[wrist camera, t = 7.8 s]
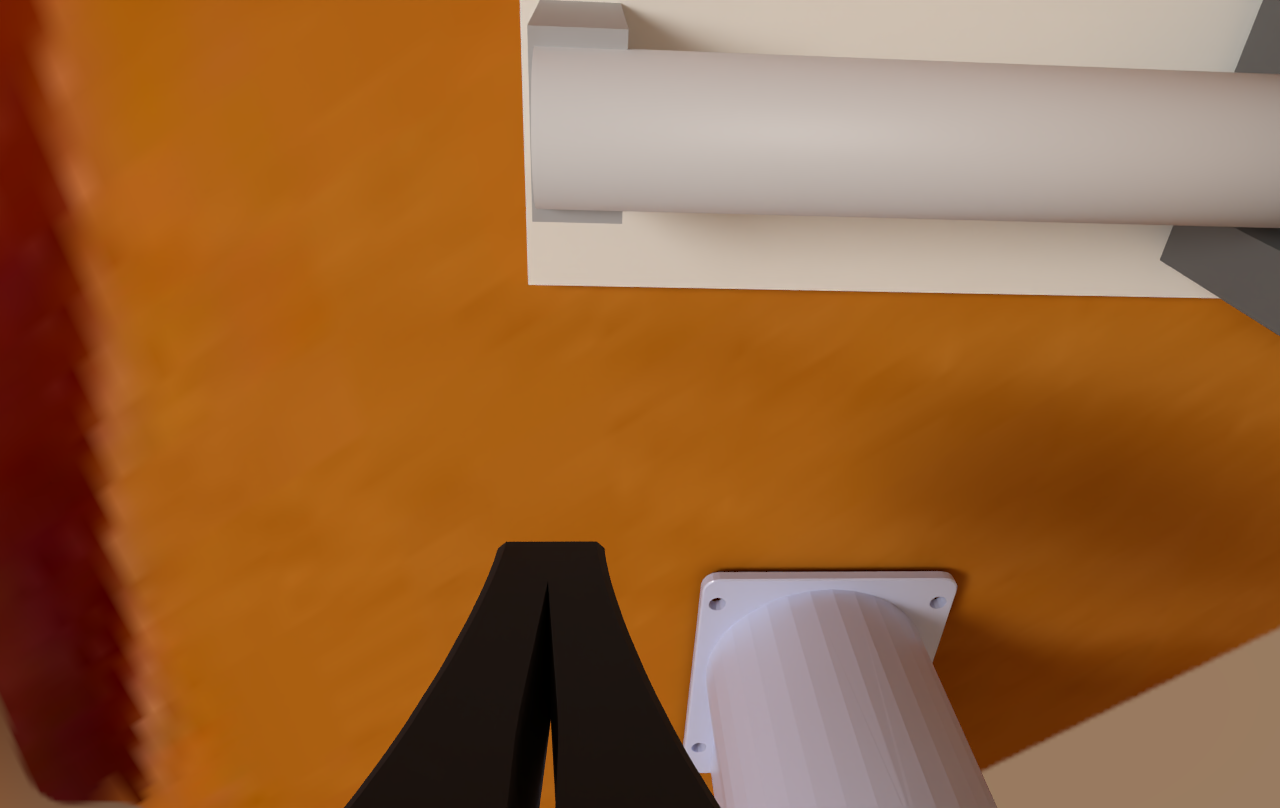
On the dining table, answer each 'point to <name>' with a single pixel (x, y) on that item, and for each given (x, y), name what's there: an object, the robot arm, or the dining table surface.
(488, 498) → the dining table surface
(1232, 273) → the grey square collar
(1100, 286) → the pipe rail
